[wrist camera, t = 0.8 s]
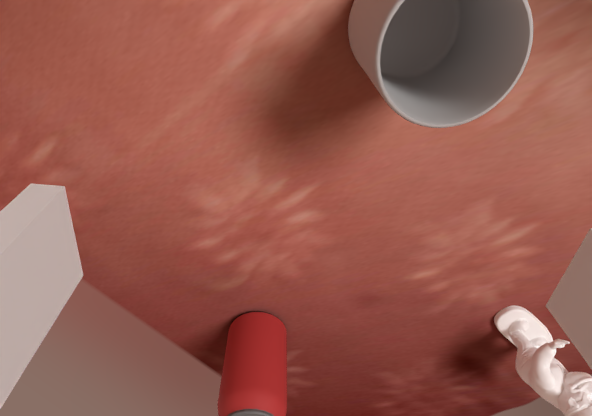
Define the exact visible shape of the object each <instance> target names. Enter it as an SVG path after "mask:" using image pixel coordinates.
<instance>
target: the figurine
mask: <svg viewBox="0 0 592 416" xmlns="http://www.w3.org/2000/svg"><path fill="white" fill-rule="evenodd" d="M494 323H495V325H496V327H497V329H498V330H499V331H500V332H501V333H502V334H503V335H504V337H506V338H507V339H508V340H509V341H510V342H511V343H512V344H514V345H515V346H516V347H517V349H518V350H517V356H516V370H517V373H518V374H519V376H520V377H521V378H522V379H523V381H525V382H526V383H527V384H528V385H529V386H531V387H532V388H533V390H534V391H535V392H537V393H538V394H539V395H540V396H541V397H542V398H543V399H544V400H546V401H548V402H549V403H551V404H553V405H554V406H555V407H556V408H558V409H560V410H561V411H562V413H563V414H564V415H565V416H592V376H591V375H589V374H587V373H584V372H570V373H569V372H568V371H567V370H566V369H565V367H564V366H563V365H562V364H561V363H560V362H559V361H558V360H557V359H555V358H553V357H554V355H555V354H556V348H562V347H564V346H565V344H569V343H570V342H569V341H566V340H560V339H556V340H554V341H553V339H552V336H551V334H550V333H549V331H548V329H547V327H546V326H544V324H542V323H541V322H540V321H539V320H538V319H537V318H536V317H535V316H534V315H533V314H532V313H531V312H529V311H528V310H526V309H525V308H523V307H520V306H509V307H506V308H504V309H502V310H501V311H499V312H498V313H497V314H496V315H495V317H494Z"/></svg>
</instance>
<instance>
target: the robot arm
mask: <svg viewBox="0 0 592 416" xmlns="http://www.w3.org/2000/svg"><path fill="white" fill-rule="evenodd" d="M82 277H83V271H82V267H81V262H80V257H79V252H78V248H77V243H76V238H75V233H74V229H73V224H72V219H71V214H70V210H69V205H68V200H67V195H66V191H65V186H55V185H42V184H30V185H29V186H28V187H27V188H26V189H24V190H23V191H22V192H21V193H20V194H19V195H18V196H17V197H16V198H15V199H14V200H12V201H11V202H10V203H9V204H8V205H7V206H6V207H5V208H4V209H3V210H2V211H0V408H1V407H2V405H3V403H4V402H5V401H6V399H7V397H8V396H9V394H10V393H11V391H12V389H13V388H14V386H15V384H16V383H17V381H18V380H19V378H20V376H21V375H22V373H23V372H24V370H25V368H26V366H27V365H28V363H29V362H30V360H31V359H32V357H33V355H34V354H35V352H36V351H37V349H38V347H39V346H40V344H41V342H42V341H43V339H44V338H45V336H46V334H47V333H48V331H49V330H50V328H51V327H52V325H53V323H54V322H55V320H56V319H57V317H58V315H59V314H60V312H61V310H62V309H63V307H64V306H65V304H66V302H67V301H68V299H69V298H70V296H71V294H72V293H73V291H74V290H75V288H76V286H77V285H78V283H79V282H80V280H81V278H82ZM546 307H547V308H548V310H549V311H550V312H551V314H552V315H553V317H554V318H555V319H556V321H557V322H558V324H559V325H560V326H561V328H562V329H563V330H564V332H565V333H566V335H567V336H568V337H569V339H570V340H571V341H572V343H573V344H574V346H575V347H576V348H577V350H578V351H579V353H580V354H581V355H582V357H583V358H584V359H585V361H586V362H587V364H588V365H589V366H590V368H591V369H592V229H590V230H589V231H588V233H587V235H586V237H585V238H584V240H583V242H582V244H581V245H580V247H579V249H578V250H577V252H576V254H575V256H574V257H573V259H572V261H571V263H570V264H569V266H568V268H567V270H566V271H565V273H564V275H563V277H562V278H561V280H560V282H559V284H558V285H557V287H556V289H555V291H554V292H553V294H552V296H551V297H550V299H549V301H548V303H547V304H546Z"/></svg>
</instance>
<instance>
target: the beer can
mask: <svg viewBox="0 0 592 416" xmlns="http://www.w3.org/2000/svg"><path fill="white" fill-rule="evenodd" d="M286 411H287V335H286V328H285V326H284V324H283V323H282V322H281V321H280V320H279V319H278V318H277V317H275V316H273V315H271V314H269V313H265V312H250V313H245V314H243V315H241V316H239V317H237V318H236V319H235V320H234V321H233V322H232V324H231V326H230V328H229V331H228V338H227V345H226V351H225V358H224V365H223V372H222V378H221V385H220V392H219V399H218V414H219V416H286Z"/></svg>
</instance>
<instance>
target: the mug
mask: <svg viewBox="0 0 592 416" xmlns="http://www.w3.org/2000/svg"><path fill="white" fill-rule="evenodd" d="M348 36H349V42H350V46H351V50H352V52H353V54H354V57H355V58H356V60H357V62H358V63H359V65H360V66H361V67H362V69H363V70H364V71H365V72H366V74H367V75H368V77H369V78H370V80H371V81H372V83H373V84H374V86H375V87H376V89H377V90H378V92H379V93H380V95H381V96H382V98H383V99H384V100H385V102H386V103H387V104H388V105H389V106H390V108H391V109H392V110H394V111H395V112H396V113H397V114H398V115H400V116H401V117H403V118H404V119H406V120H408V121H410V122H412V123H414V124H417V125H420V126H425V127H431V128H445V127H453V126H457V125H461V124H464V123H467V122H470V121H472V120H474V119H476V118H478V117H480V116H482V115H483V114H485V113H487V112H488V111H490V110H491V109H492V108H494V107H495V106H496V105H497V104H498V103H499V102H501V101H502V100H503V99H504V98H505V97H506V95H507V94H508V93H509V92H510V91H511V90H512V88H513V87H514V85H515V84H516V83H517V81H518V79H519V78H520V76H521V74H522V73H523V70H524V68H525V66H526V64H527V61H528V58H529V55H530V52H531V46H532V41H533V19H532V14H531V9H530V6H529V4H528V1H527V0H354V2H353V5H352V8H351V11H350V16H349V22H348Z"/></svg>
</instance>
